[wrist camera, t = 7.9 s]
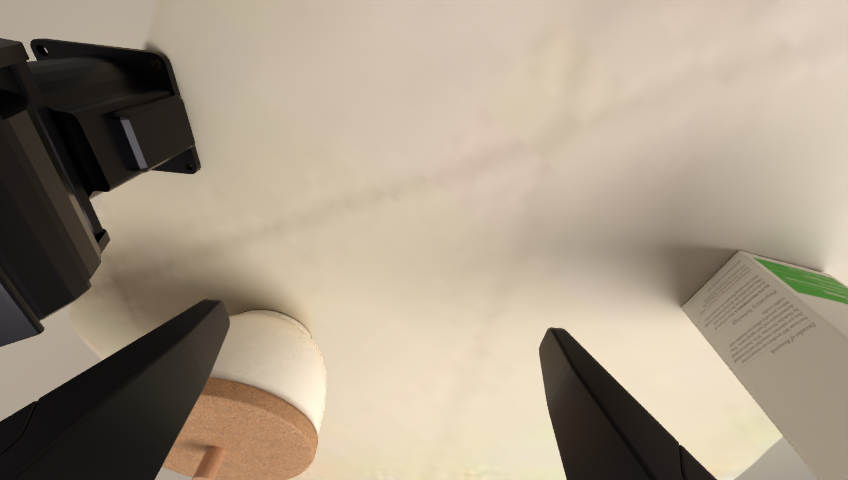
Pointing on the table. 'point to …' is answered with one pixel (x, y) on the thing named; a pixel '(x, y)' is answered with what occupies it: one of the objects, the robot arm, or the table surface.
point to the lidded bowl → (256, 404)
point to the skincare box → (784, 350)
